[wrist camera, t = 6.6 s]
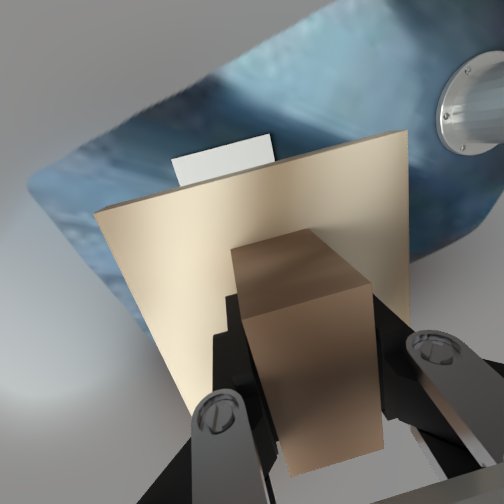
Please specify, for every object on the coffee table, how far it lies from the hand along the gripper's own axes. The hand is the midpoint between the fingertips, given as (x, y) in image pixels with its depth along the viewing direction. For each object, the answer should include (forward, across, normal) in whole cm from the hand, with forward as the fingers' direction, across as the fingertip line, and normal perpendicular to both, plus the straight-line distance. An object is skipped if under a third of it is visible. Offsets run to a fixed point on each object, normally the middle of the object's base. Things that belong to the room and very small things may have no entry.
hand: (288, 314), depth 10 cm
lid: (+2, 0, 0) cm, 2 cm away
